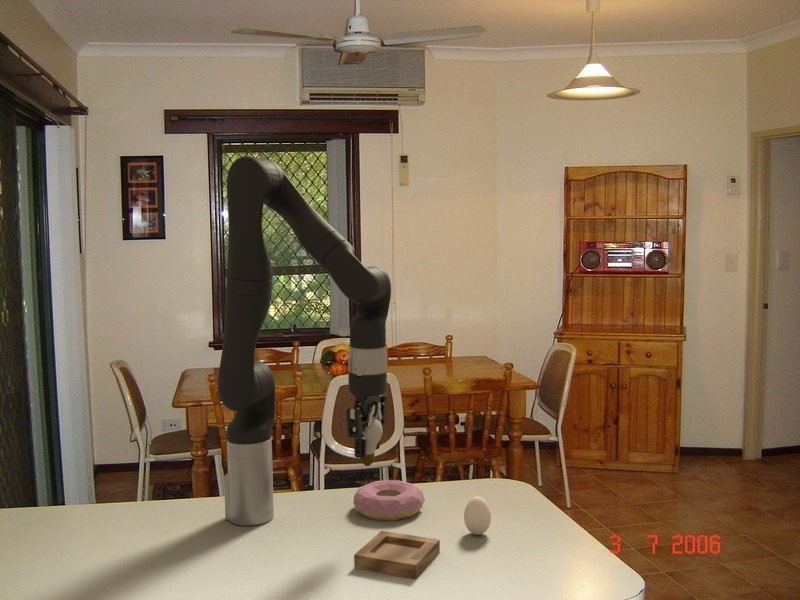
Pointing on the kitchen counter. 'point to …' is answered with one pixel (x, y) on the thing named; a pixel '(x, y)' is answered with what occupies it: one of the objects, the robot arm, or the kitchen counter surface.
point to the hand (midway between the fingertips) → (367, 452)
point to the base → (397, 554)
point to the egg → (477, 516)
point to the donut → (388, 500)
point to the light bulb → (372, 440)
